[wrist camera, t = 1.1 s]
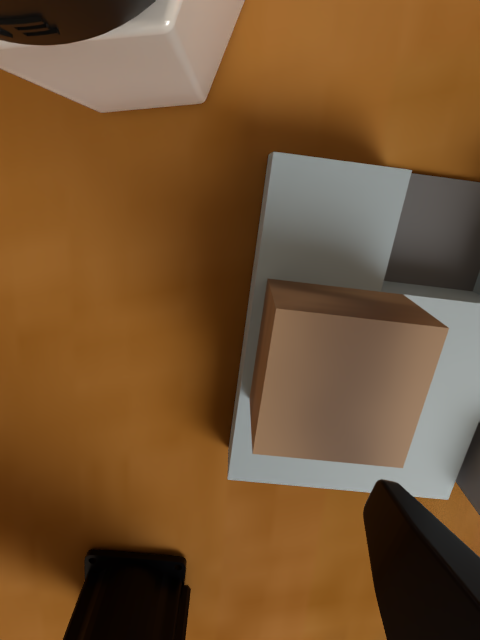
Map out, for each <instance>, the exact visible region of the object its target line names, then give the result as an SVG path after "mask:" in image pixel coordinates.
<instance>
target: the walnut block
mask: <svg viewBox="0 0 480 640" xmlns="http://www.w3.org/2000/svg"><path fill="white" fill-rule="evenodd" d="M448 330H449V328H448V327H447V326H446V325H444V324H443V323H442V322H440V321H439V320H437V319H436V318H435V317H433V316H432V315H431V314H429V313H428V312H426V311H425V310H424V309H422V308H421V307H420V306H418V305H417V304H416V303H414V302H413V301H411V300H410V299H409V298H407V297H406V296H405V295H403V294H395V293H387V292H378V291H370V290H361V289H353V288H344V287H336V286H327V285H319V284H310V283H302V282H293V281H285V280H276V279H268V278H267V285H266V292H265V298H264V305H263V312H262V318H261V325H260V331H259V338H258V345H257V351H256V358H255V365H254V371H253V378H252V385H251V391H250V398H249V401H250V418H251V436H252V454H258V455H269V456H279V457H290V458H300V459H311V460H321V461H332V462H342V463H353V464H363V465H374V466H384V467H395V468H403V466H404V463H405V460H406V457H407V454H408V451H409V448H410V445H411V442H412V439H413V436H414V433H415V430H416V427H417V424H418V421H419V418H420V415H421V412H422V409H423V406H424V403H425V400H426V397H427V394H428V391H429V388H430V385H431V382H432V379H433V376H434V373H435V370H436V367H437V364H438V361H439V358H440V355H441V352H442V349H443V346H444V343H445V340H446V336H447V333H448Z"/></svg>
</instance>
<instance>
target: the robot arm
mask: <svg viewBox="0 0 480 640" xmlns="http://www.w3.org/2000/svg"><path fill="white" fill-rule="evenodd" d="M363 517H364V525H365V531H366V538H367V544H368V551H369V557H370V564H371V570H372V577H373V582H374V588H375V593H376V597H377V601H378V606H379V610H380V614H381V618H382V622H383V625H384V629H385V633H386V637H387V640H480V557H479V556H477V555H476V554H475V553H474V552H473V551H472V550H471V549H470V548H469V547H468V546H467V545H465V544H464V543H463V542H462V541H461V540H460V539H459V538H458V537H457V536H456V535H455V534H453V533H452V532H451V531H450V530H449V529H448V528H447V527H446V526H445V525H444V524H443V523H441V522H440V521H439V520H438V519H437V518H436V517H435V516H434V515H433V514H432V513H431V512H429V511H428V510H427V509H426V508H425V507H424V506H423V505H422V504H421V503H420V502H419V501H417V500H416V499H415V498H414V497H413V496H412V495H411V494H410V493H409V492H408V491H407V490H405V489H404V488H403V487H402V486H401V485H400V484H399V483H397V482H394V481H389V480H384V479H380V480H378V481H377V482H376V483H375V485H374V487H373V489H372V491H371V493H370V495H369V498H368V500H367V502H366V504H365V507H364V512H363ZM185 572H186V559H185V558H183V557H180V556H169V555H157V554H144V553H132V552H120V551H107V550H95V549H94V550H89V551H88V552H87V554H86V557H85V581H84V584H83V587H82V589H81V592H80V595H79V598H78V600H77V603H76V606H75V608H74V611H73V614H72V616H71V619H70V622H69V624H68V627H67V630H66V632H65V635H64V638H63V640H185V636H186V627H187V618H188V609H189V600H190V591H191V589H190V587H189V586H188V585H184V582H185Z"/></svg>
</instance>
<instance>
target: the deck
mask: <svg viewBox="0 0 480 640" xmlns="http://www.w3.org/2000/svg"><path fill="white" fill-rule="evenodd" d="M411 172H412V170H408V169H400V168H393V167H385V166H378V165H370V164H363V163H355V162H348V161H340V160H333V159H325V158H318V157H310V156H303V155H296V154H288V153H281V152H272V153H270V154H269V155H268V163H267V170H266V177H265V185H264V192H263V199H262V207H261V214H260V221H259V229H258V236H257V243H256V251H255V258H254V265H253V273H252V280H251V287H250V295H249V302H248V309H247V317H246V324H245V331H244V339H243V346H242V353H241V361H240V368H239V375H238V383H237V390H236V397H235V405H234V412H233V419H232V427H231V434H230V441H229V450H228V480H239V481H250V482H261V483H271V484H282V485H293V486H304V487H315V488H326V489H337V490H348V491H359V492H370V493H371V491H372V489H373V487H374V485H375V483H376V482H377V481H378V480H380V479H384V480H389V481H394V482H397V483H399V484H400V485H401V486H402V487H403V488H404V489H405V490H407V491H408V492H409V493H410V494H411V495H412V496H413V497H424V498H435V499H446V500H448V499H449V496H450V493H451V491H452V488H453V486H454V483H455V481H456V478H457V476H458V473H459V471H460V468H461V466H462V463H463V460H464V458H465V455H466V453H467V450H468V448H469V445H470V443H471V440H472V438H473V435H474V433H475V430H476V427H477V425H478V422H480V182H474V181H466V180H459V179H451V178H444V177H436V176H429V175H421V174H414V173H411ZM267 278H268V279H276V280H285V281H293V282H302V283H310V284H319V285H327V286H336V287H344V288H353V289H361V290H370V291H378V292H387V293H395V294H403V295H405V296H406V297H407V298H409V299H410V300H411V301H413V302H414V303H416V304H417V305H418V306H420V307H421V308H422V309H424V310H425V311H426V312H428V313H429V314H431V315H432V316H433V317H435V318H436V319H437V320H439V321H440V322H442V323H443V324H444V325H446V326H447V327H448V328H449V330H448V333H447V336H446V340H445V343H444V346H443V349H442V352H441V355H440V358H439V361H438V364H437V367H436V370H435V373H434V376H433V379H432V382H431V385H430V388H429V391H428V394H427V397H426V400H425V403H424V406H423V409H422V412H421V415H420V418H419V421H418V424H417V427H416V430H415V433H414V436H413V439H412V442H411V445H410V448H409V451H408V454H407V457H406V460H405V463H404V466H403V468H395V467H384V466H374V465H363V464H353V463H342V462H332V461H321V460H311V459H300V458H290V457H279V456H269V455H258V454H252V436H251V418H250V401H249V398H250V391H251V385H252V378H253V371H254V365H255V358H256V351H257V345H258V338H259V331H260V325H261V318H262V312H263V305H264V298H265V292H266V285H267Z"/></svg>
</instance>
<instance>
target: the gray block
mask: <svg viewBox="0 0 480 640" xmlns="http://www.w3.org/2000/svg"><path fill="white" fill-rule="evenodd" d="M456 483H457V484H458V485H459V487H460V488H461V490H462V491H463V493H464V494H465V495H466V497H467V498H468V500H469V501H470V502H471V504H472V505H473V507H474V508H475V509H476V511H477V512H478V514H479V515H480V422H478V425H477V427H476V430H475V433H474V435H473V438H472V440H471V443H470V445H469V448H468V450H467V453H466V455H465V458H464V460H463V463H462V466H461V468H460V471H459V473H458V476H457V478H456Z"/></svg>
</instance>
